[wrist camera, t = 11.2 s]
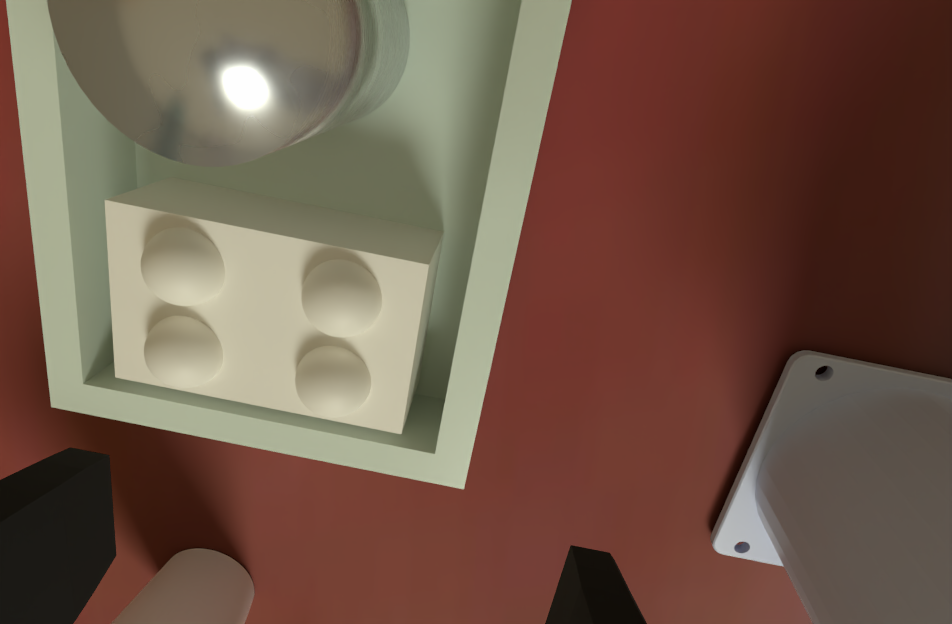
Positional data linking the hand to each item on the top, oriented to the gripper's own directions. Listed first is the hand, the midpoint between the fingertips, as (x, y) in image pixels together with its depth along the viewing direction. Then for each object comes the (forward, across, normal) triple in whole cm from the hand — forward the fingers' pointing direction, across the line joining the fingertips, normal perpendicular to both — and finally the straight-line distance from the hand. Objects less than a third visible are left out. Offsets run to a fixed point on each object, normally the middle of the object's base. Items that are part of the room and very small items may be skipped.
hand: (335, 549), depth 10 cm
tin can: (+10, +4, -7) cm, 13 cm away
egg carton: (+10, +4, 0) cm, 11 cm away
